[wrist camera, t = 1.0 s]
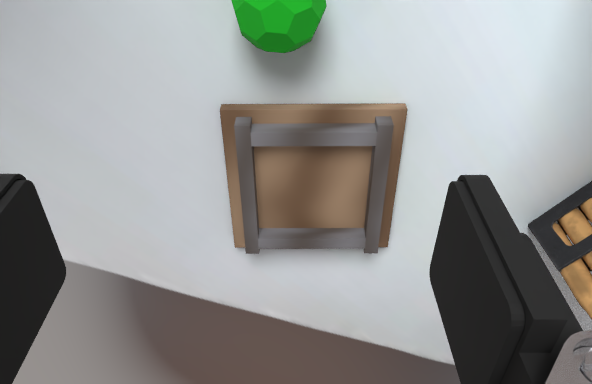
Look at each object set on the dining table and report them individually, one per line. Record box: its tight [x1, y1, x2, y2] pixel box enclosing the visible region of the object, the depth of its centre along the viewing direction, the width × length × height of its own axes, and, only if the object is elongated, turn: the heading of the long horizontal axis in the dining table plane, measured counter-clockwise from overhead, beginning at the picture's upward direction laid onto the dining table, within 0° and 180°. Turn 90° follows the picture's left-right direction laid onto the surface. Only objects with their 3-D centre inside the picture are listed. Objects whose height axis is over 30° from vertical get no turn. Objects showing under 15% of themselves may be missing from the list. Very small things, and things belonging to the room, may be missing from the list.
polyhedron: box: [232, 0, 326, 53], centre depth 26 cm, size 5×5×5 cm
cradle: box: [220, 104, 407, 253], centre depth 35 cm, size 12×12×2 cm
